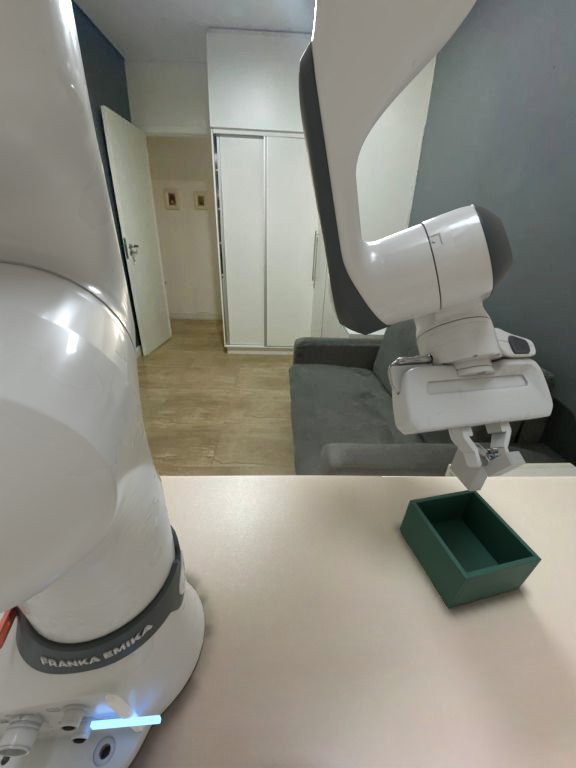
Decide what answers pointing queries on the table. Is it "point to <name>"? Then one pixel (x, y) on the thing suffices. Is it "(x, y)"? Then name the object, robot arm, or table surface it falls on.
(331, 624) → the table surface
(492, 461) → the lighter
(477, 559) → the bin
